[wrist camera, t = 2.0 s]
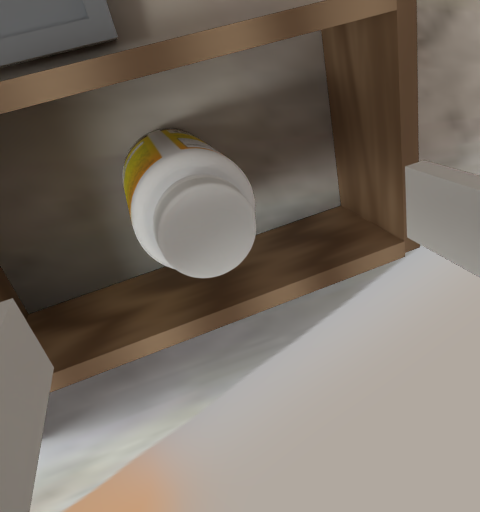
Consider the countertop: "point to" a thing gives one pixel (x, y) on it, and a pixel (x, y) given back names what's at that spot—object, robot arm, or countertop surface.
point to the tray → (51, 27)
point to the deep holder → (276, 240)
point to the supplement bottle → (188, 204)
